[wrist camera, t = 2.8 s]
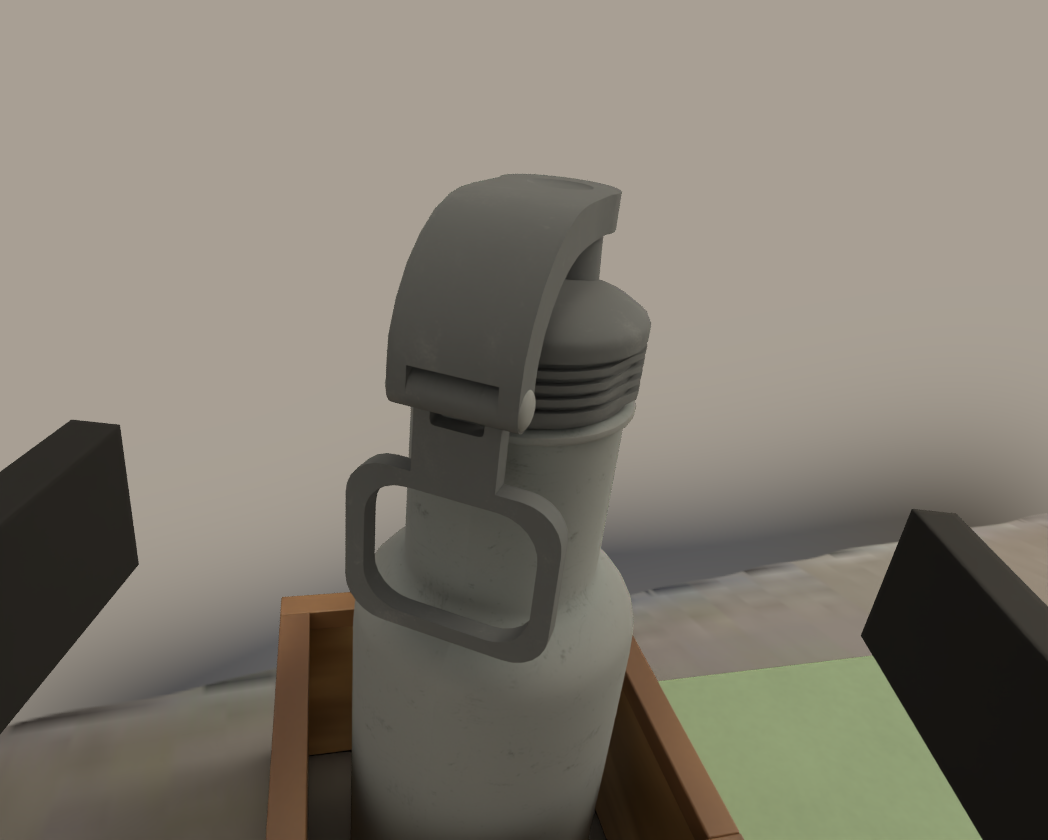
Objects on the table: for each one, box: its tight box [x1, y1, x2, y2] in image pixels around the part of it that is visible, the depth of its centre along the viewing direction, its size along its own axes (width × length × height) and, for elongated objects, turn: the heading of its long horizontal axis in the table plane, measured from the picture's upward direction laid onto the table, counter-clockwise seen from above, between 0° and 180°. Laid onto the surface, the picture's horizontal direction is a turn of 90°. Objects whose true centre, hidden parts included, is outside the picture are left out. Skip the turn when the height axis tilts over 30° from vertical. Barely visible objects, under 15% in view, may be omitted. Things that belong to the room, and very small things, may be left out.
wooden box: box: [266, 592, 744, 840], centre depth 29 cm, size 15×15×9 cm
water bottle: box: [345, 174, 651, 840], centre depth 25 cm, size 10×10×28 cm
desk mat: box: [658, 656, 982, 840], centre depth 36 cm, size 18×16×1 cm
